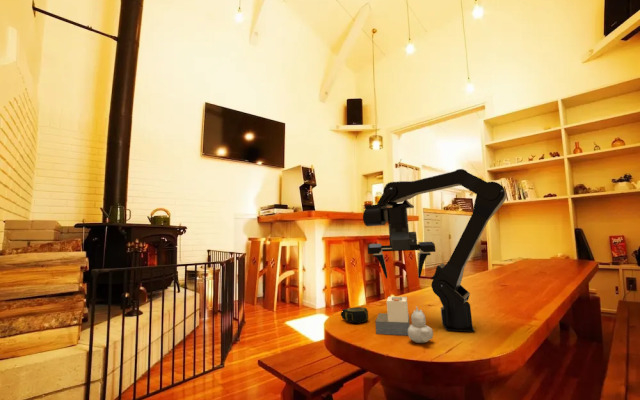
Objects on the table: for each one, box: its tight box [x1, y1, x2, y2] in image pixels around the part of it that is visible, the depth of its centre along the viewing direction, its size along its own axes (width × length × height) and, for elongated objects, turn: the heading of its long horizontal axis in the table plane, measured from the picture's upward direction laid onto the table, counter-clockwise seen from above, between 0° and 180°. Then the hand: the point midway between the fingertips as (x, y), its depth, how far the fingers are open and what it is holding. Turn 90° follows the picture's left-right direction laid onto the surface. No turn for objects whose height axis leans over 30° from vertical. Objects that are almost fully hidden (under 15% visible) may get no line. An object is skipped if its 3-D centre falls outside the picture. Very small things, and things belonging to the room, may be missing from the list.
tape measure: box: [340, 306, 369, 324], centre depth 83 cm, size 7×7×4 cm
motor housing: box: [375, 312, 411, 337], centre depth 74 cm, size 8×8×7 cm
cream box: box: [386, 296, 409, 323], centre depth 73 cm, size 6×5×5 cm
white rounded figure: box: [407, 305, 434, 344], centre depth 64 cm, size 5×7×8 cm
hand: (402, 277), depth 82 cm, fingers open, 9 cm apart
